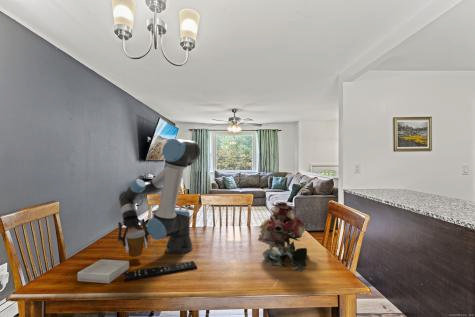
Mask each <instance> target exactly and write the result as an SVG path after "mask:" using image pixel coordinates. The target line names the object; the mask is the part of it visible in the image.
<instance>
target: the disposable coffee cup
mask: <svg viewBox="0 0 475 317" xmlns="http://www.w3.org/2000/svg"><path fill="white" fill-rule="evenodd" d="M144 234H145V233H144V229H143V230H137V229H131V230H128V231H127V233H126V237H125V239H127V243H128V248H129V251H128V256H129V257H131V258H137V257H140V256H142V254H143V248H144V242H143V241H144Z"/></svg>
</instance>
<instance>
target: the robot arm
mask: <svg viewBox="0 0 475 317" xmlns="http://www.w3.org/2000/svg"><path fill="white" fill-rule="evenodd" d="M162 155H163V159H164V160H165V161H164V163H165V165H166V166H165V168H163V169H162V170H161V171H160V172H159V173H157V175H155V176H154V177H153V178H152V179H150V180H149V181H145V180H143V179H139V178H137V179H134V180H133V181H132V182H131V184H129V186H128V188H127V189H126V188H125V189H122V190H120V191H119V193H118V201H119V205H120V211H121V215H122V222H120V221H118V223H117V228H118V233H117V234H118V235H117V242H120V241H121V243H122V247H125V252H126V254H129V248H128V243H127V238H126V233H127V232H129V230H132V229H135V230H144V233H145V234H144V241H143V248H144V249H147V248H148V241H149V239H148V237H149V236H150V238H152V239H153V240H156V241H158V240H159V241H160V240H164V239H165V238H168V239H167V242H166V243H167V244H166V247H165V251H166V252H167V253H169V254H171V255H172V254H174V255H176V254H177V255H178V254H180V255H181V254H184V253H188V252H190V251H192V250H193V247H194V246H193V242H192V239H191V235H190V231H191V229H190V228H191V227H190V222H191V220H190V217H191V216H190V211H189V210H187V209H176V206H177V202H178V197H179V192H180V188H181V183H182V179H183V175H184V174H183V173H184V171H185V169H187V168H188V167H190V166H192V165H193V164H194V163H195V162H197V161H198V159H199V158H200V155H201V147H200V145H199V144H198V143H197V142H196V141H194V140H188V139H181V138H171V139H169V140H168V141H166V142H165V144H164V145H163V148H162ZM160 192H161V194H160V198H159V204H158V208H157V209H156V210H154V213H153V217H151V218H150V219H149V220H148V221H147V224H146V222H145V219H144V218H142V219H139V218H138V217H139V216H138V213H137V208H136V204H135V201H136V199H138V197H139V196H143V195H151V194H157V193H160ZM123 226H124V227H125V230H124V232H123V235H122V229H123ZM141 226H142V227H141Z"/></svg>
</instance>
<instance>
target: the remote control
mask: <svg viewBox="0 0 475 317" xmlns="http://www.w3.org/2000/svg"><path fill="white" fill-rule="evenodd" d="M197 269H198V265H196V262H194V260H193V261H192V260H191V261H190V260H189V261H185V262H179V263H173V264H167V265H161V266H155V267H148V268H145V269H144V268H143V269H138V270H132V271H125V272H124V277H123V279H124V283H127V282H133V281H138V280H143V279H147V278H148V279H149V278H154V277H160V276H165V275H170V274H176V273H182V272H187V271H192V270H197Z"/></svg>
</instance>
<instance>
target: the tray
mask: <svg viewBox="0 0 475 317" xmlns="http://www.w3.org/2000/svg"><path fill="white" fill-rule="evenodd" d="M129 269H130V261H129V260H118V259H117V260H115V259H99V260H98V261H96V262H93V263H92V264H91V265H89V266H87V267H85V268H84V269H82V270H80V271H78V272H77V282H88V283H89V282H90V283H102V284H109V283H111V282H113V281H114V280H115V279H117V278H118V277H119V276H121V275H122V274H123V273H125V272H127V271H128V270H129Z"/></svg>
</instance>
